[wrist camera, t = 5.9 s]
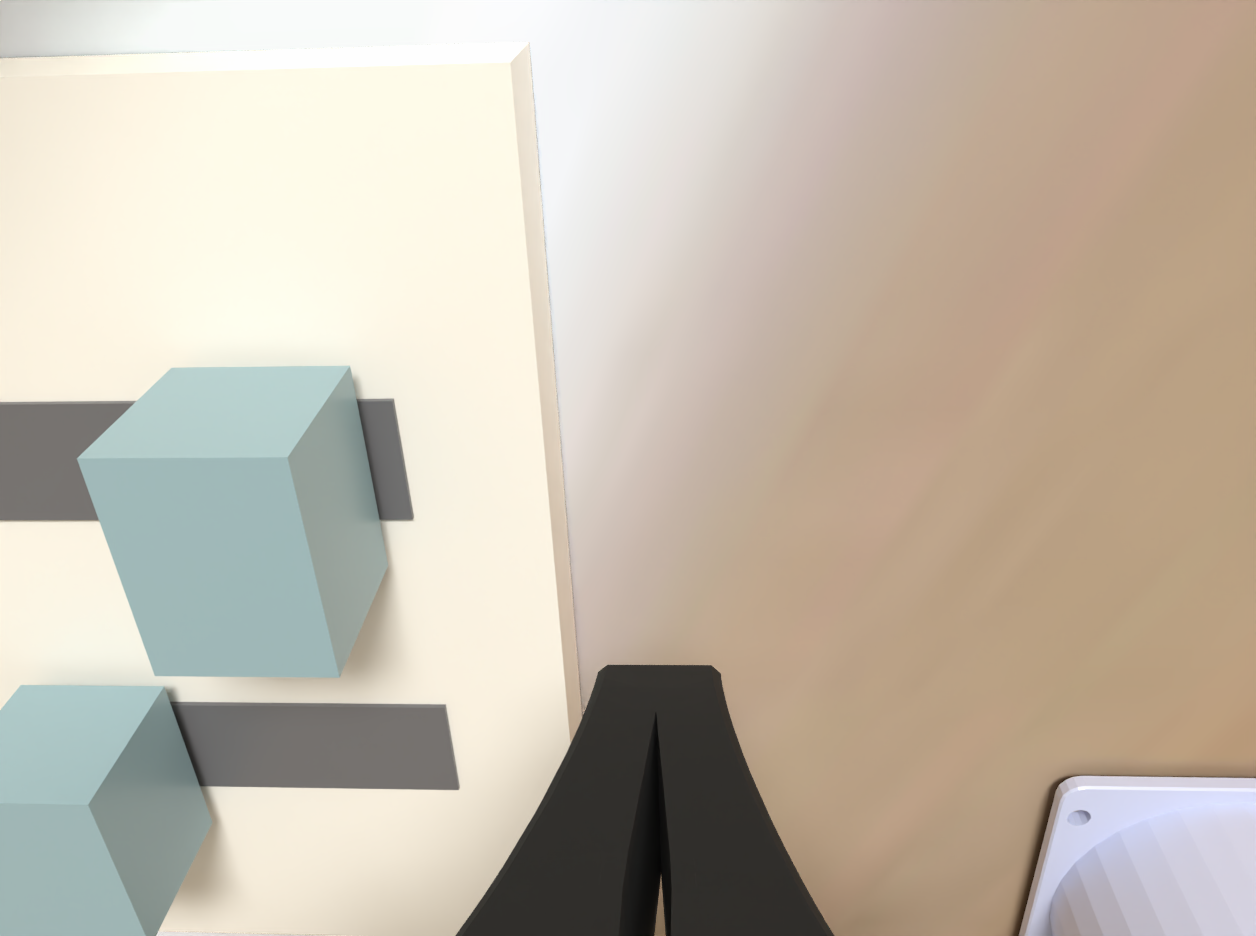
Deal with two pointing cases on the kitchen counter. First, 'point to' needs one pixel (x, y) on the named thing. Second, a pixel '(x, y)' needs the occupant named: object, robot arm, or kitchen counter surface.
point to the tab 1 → (94, 811)
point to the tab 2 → (242, 519)
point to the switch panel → (392, 428)
